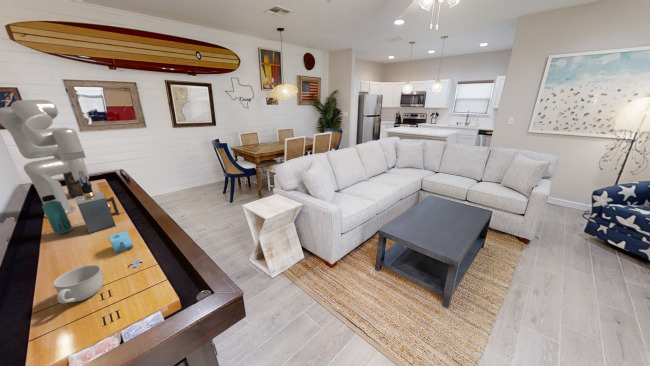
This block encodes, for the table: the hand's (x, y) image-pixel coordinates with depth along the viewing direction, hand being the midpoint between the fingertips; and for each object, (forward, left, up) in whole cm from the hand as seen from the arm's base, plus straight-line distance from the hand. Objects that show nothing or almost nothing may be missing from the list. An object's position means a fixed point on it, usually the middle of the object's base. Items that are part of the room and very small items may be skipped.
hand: (88, 192), depth 115 cm
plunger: (0, 0, -18) cm, 18 cm away
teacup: (+58, -12, -20) cm, 62 cm away
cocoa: (-20, +4, -20) cm, 28 cm away
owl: (-74, -2, -20) cm, 77 cm away
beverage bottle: (-7, -13, -20) cm, 25 cm away
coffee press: (0, +2, -19) cm, 19 cm away
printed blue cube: (+35, +3, -20) cm, 40 cm away
